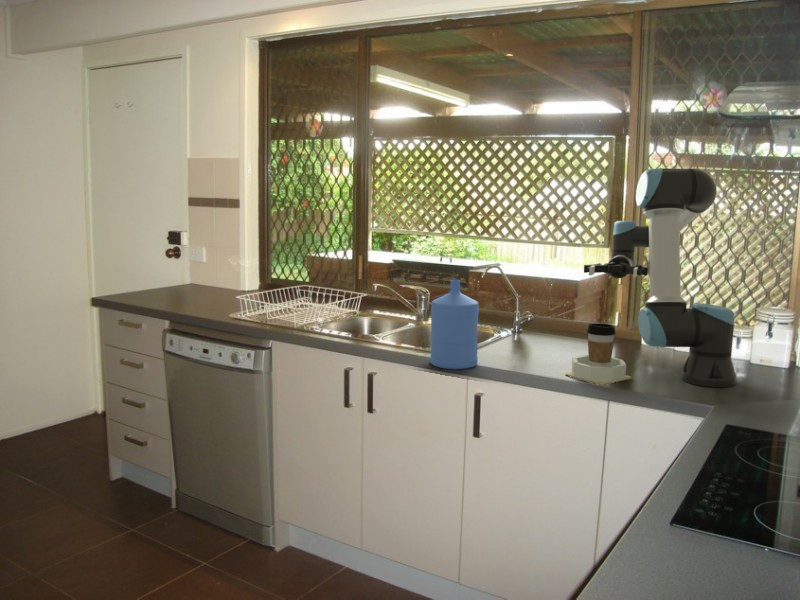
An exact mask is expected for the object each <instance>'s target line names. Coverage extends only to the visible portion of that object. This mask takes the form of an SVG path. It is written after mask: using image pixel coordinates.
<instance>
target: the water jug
mask: <svg viewBox="0 0 800 600" xmlns="http://www.w3.org/2000/svg"><path fill="white" fill-rule="evenodd" d="M460 282H461V280H460V279H450V286H449V287H450V290H449V292H448V293H446V294H444V295H442V296H440V297H437V298H436V299H434V300H432V301H431V303H430V304H431V306H430V316H431V317H430V319H431V320H430V322H431V323H430V327H431V328H430V358H429V359H430V360H429V361H430V363H431V365H432V366H434V367H437V368H440V369H445V370H466V369H467V370H468V369H470V368H473V367H476V366H477V365H478V363H479V362H478V361H479V358H478V357H479V356H478V325H479V313H480V312H479V311H480V307H479V301H477V300H476V299H473V298H471V297H469V296H468V295H465V294H463V293H462V292H461V291H460V289H461V283H460Z"/></svg>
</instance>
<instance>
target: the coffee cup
mask: <svg viewBox="0 0 800 600" xmlns="http://www.w3.org/2000/svg"><path fill="white" fill-rule="evenodd" d="M587 327H588V328H587V329H586V332H587V335H588V338H587V348H588V349H587V352H588V354H587V355H589V365H590V366H599V367H610V362H611V357H612V354H613V349H614V344H615V340H614V338H615V335H616V329H615V328H616V327H615V325H613V324H609V323H588V326H587Z"/></svg>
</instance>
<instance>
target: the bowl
mask: <svg viewBox="0 0 800 600" xmlns="http://www.w3.org/2000/svg"><path fill="white" fill-rule="evenodd" d="M626 374H627V364H626V362H625V361H624V360H623V359H621V358H616V357H611V362H610V367H599V366H590V365H589V354H585V355H579V356H575V357H572V364H571V372H567V373H565V375H568V376H571V377H570V378H572V377H574V378H573V379H575V378H578V379H577V380H579V379H581V380H580V381H583V380H584V382H586V381H588V382H587V383H590V382H591V383H590V384H593V383H595V384H594V385H597V384H598V385H597V386H600V387H604V386H608V385H612V384H616V383H620V382H624V381H627V380H632V376H630V375H626ZM568 376H567V377H568ZM619 381H620V382H619ZM615 382H616V383H615ZM611 383H612V384H611ZM607 384H608V385H607Z"/></svg>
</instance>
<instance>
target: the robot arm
mask: <svg viewBox="0 0 800 600" xmlns="http://www.w3.org/2000/svg"><path fill="white" fill-rule="evenodd" d="M717 192H718V191H717V185H716V182H715V180H714V179H713V178H712V176H711V175H710V174H708V173H707V172H706V171H704V170H703V169H702V170H701V169H698V168H663V167H660V168H649V169H647V170H645V171H644V172H643V173H642V174H641V176H640V178H639V180H638V182H637V186H636V191H635V202H636V206H637V207H638V208H641V209H642V215H643V216H644V217H646V218H647V220H648V226H643V225H639V226H638V225H637V222H636V221H635V220H616V221H615V222H614V224H613V233H612V253H611V259H610V260H609V261H608V262H607V263H606V262H605V263H604V264H602V263H600V262H599V263H593V264H592V263H591V264H584V265H583V273H585V274H587V273H588V275H589V276H594V275H595V274H598V273H599V274H600V273H601V274H602V273H604V274H608V275H610V276H611V277H612V278H614V279H623V278H625V277H627V275H633V276H632V277H633V278H637V277H638V276H645V277H646V276H648V273H649V286H650V287H649V294H650V295H649V298H648V299H647V300H646V301H645V302H644V306H645V307H643V308H641V309H640V310H639V311H638V318H637V322H638V323H637V324H638V329H639V333H640V337H641V338H642V340H643V342H644V343H645V344H646V345H647V346H649V347H651V348H653V347H654V348H655V347H656V348H664V349H665V348H689V350H688V355H687V358H686V360H685V362H684V365H683V367H682V369H681V374H680V375H681V376H680V379H681V380H682V381H684V382H686V383H689V384H692V385H697V386H701V387H709V388H729V387H733V386H735V385H736V382H737V374H736V371H735V368H734V364H733V360H732V351H733V343H734V342H733V340H734V332H735V331H734V330H735V329H734V328H735V326H736V325H735V312H734V311H733V310H732V309H730V308H727V307H723V306H720V305H715V304H710V303H704V302H703V303H702V302H694V303H692V305H691V308H687V301H686V300H685V299H684V298H683V297H682V293H681V291H682V290H681V289H682V288H681V287H682V286H681V255H680V253H681V252H680V247H681V246H680V232H681V231H682V230H683V229H684V228H685V227H686V226H687V225H688V224H689V223H690V222H691V221H692V220H694V219H695V217H696V216H698V214H701V213H703V212H706V211H707V210H709V208H711V206H713V204H714V203H715V200H716V198H717ZM636 248H648V249H649V250H648V253H649V254H648V255H649V267H646V266H643V265H641V264H640V265H639V264H635V259H634V258H635V249H636ZM648 270H649V272H648Z"/></svg>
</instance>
